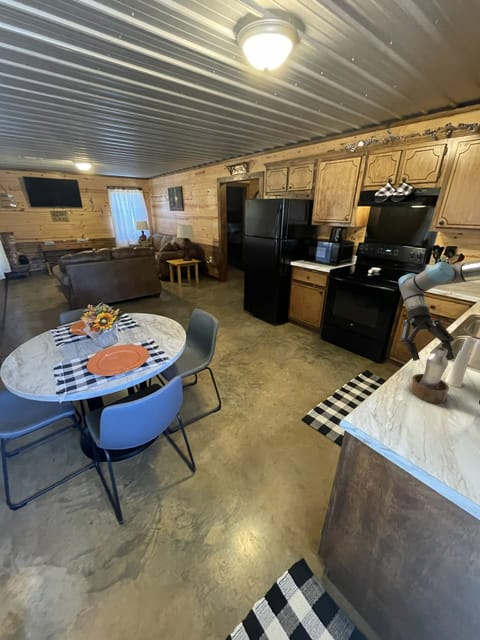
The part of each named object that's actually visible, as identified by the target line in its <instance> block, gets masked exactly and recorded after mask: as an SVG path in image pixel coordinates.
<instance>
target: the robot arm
mask: <svg viewBox="0 0 480 640" xmlns="http://www.w3.org/2000/svg"><path fill="white" fill-rule="evenodd" d="M475 281H480V259H478V260H472V261H468V262H462V263H457V264H450V263H447V262H445V261H439V262H437V263H435V264H432V265H431V266H429V267H428V268H426V269H424V270H423V271H421V272H420V273H418V274H416V273H407V274H405V275H402V276H401V277H400V278H399V279H398V286H399V287H398V288H399V291H400V293H401V296H402V299H403V303H404V307H405V310H406V313H407V314H406V315H407V316H408V317H407V319H405V320H404V321H402V322H403V323H402V324H403V329H402V333H401V339H400V343H402V344H404V345H405V346H407V349H408V352H409V353H410V355H411V358H412V361H413V362H416V361H418V360H421V357H420V355H419V351H418V348H417V345H416V342H414V341H415V339H416V336H417V334H418V333H419V332H428V333H430V334H432V336H434V337H435V338H436V339H437V340H439V341H440V342H441V347H443V348H445V349H447V350H448V352H447V355H446V358H447V360H448V361H451V360H455V356H454V353H453V346H452V343H451V342H453V341H455V338H454V337H453V336H452V334H451V333H450V332H449V331H448V329H446V328H445V326H444V325H443V324H442V323H441V320H440V319H439V318H436V319H434V320H432V318H431V316H432V314H431V311H430V308H429V305H428V302H427V300H426V299H427V298H426V296H425V293H426V292H427V291H429V290H431V289H433V288H436V287H439V286H445V285H451V284H461V283H468V282H475ZM411 326H412V329H411ZM410 331H411V332H410Z"/></svg>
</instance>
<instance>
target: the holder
mask: <svg viewBox="0 0 480 640" xmlns="http://www.w3.org/2000/svg"><path fill="white" fill-rule="evenodd" d="M423 375H424V373H416V374H414V375H413V376H412V379H411V381H410V385H409V392H410V393H411V394H412V395H413V396H415V397H416V398H417V399H420V400H421V401H424V402H426V403H430V404H442V403H444V402H445V400H446V398H447V395H448V392H449V390H450V386H449V384H448V383H446V382H445V380H442V378H441V379H440V383H439V390H432V389H429V388H426V387H424V386H422V385H420V384H419V382H420V381H421V379H422V377H423Z"/></svg>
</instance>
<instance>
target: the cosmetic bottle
mask: <svg viewBox="0 0 480 640" xmlns="http://www.w3.org/2000/svg"><path fill="white" fill-rule="evenodd" d="M474 343H475V338H473V337H468V336H467V337H466V339H465V340H464V342H463V344H462V347H461V349H460V350H459V351H458V353H457V355H456V357H455V358H454V362H453V364H452V366H451V369H450V371H449V372H448V375H447V376H446V378H445V379H444V382H445V383H446V384H447V385H450V386H452V387H456V388H462V387H463V381H464V377H465V374H466V371H467V369H468V368H467V367H468V366H469V361H470V358H471V355H472V353H471V351H472V349H473V346H474V345H475V344H474Z"/></svg>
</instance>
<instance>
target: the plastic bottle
mask: <svg viewBox="0 0 480 640" xmlns="http://www.w3.org/2000/svg"><path fill="white" fill-rule="evenodd" d="M447 352H448V350H447V349H445V348H443V347H442V346H436V347H434V351H433V353H432V354H430V355H429V356H428V357H427V358H426V364H425V369H424V373H423V374H424V375H423V377H422V379H421V381H420V382H419V384H420V385H422V386H424V387H426V388H429V389H432V390H439V383H440V379H441V380H442V377H443V374H444V373H445V371H446V370H447V368H448V366H449V360H447V358H446V355H447Z"/></svg>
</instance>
